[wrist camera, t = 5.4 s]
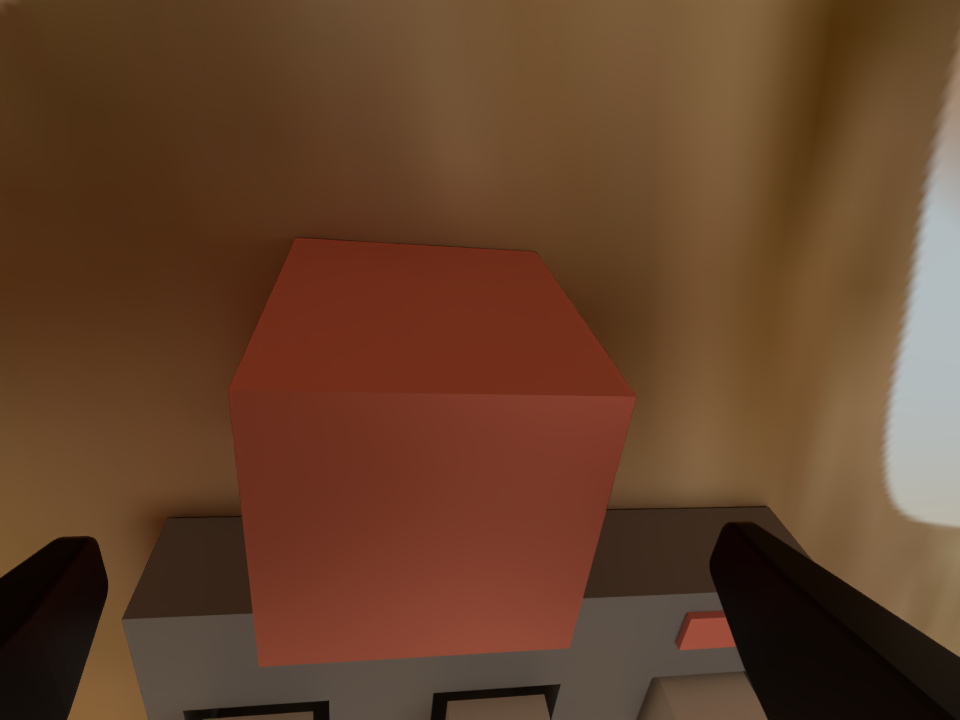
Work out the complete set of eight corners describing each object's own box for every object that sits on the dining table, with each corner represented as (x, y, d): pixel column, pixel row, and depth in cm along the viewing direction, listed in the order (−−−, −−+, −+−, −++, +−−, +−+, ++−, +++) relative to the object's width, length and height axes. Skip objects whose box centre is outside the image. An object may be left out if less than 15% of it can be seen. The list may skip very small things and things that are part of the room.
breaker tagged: (720, 631, 18) (776, 731, 16) (697, 684, 19) (745, 784, 17) (641, 636, 18) (685, 739, 15) (622, 689, 19) (660, 793, 16)
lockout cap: (536, 251, 13) (636, 396, 8) (507, 440, 15) (569, 648, 10) (295, 237, 12) (227, 390, 7) (303, 440, 15) (259, 667, 9)
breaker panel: (768, 507, 18) (838, 593, 15) (682, 706, 23) (723, 800, 20) (167, 518, 15) (118, 627, 12) (210, 743, 20) (181, 860, 17)
